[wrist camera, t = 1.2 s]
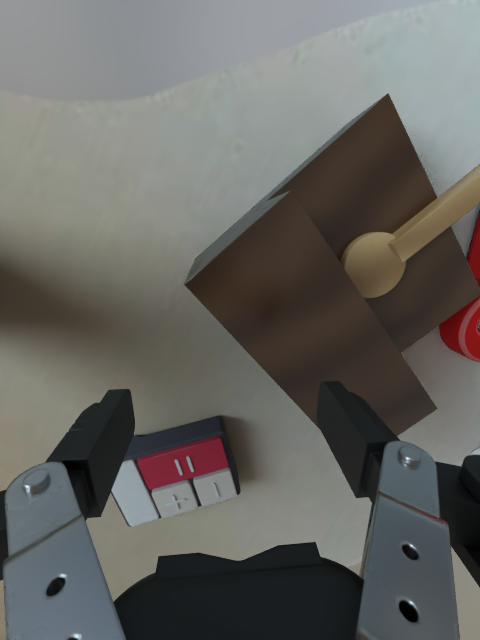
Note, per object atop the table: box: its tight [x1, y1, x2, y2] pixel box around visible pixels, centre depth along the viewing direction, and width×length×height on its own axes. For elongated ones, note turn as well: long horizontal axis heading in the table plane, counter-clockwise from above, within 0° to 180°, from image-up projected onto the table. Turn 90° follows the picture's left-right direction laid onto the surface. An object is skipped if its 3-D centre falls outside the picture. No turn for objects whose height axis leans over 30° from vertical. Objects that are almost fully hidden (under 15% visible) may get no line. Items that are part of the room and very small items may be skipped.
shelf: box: [184, 94, 480, 436], centre depth 24 cm, size 20×20×13 cm
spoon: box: [340, 164, 480, 298], centre depth 22 cm, size 6×16×2 cm, turn 130°
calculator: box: [111, 416, 240, 527], centre depth 34 cm, size 11×4×15 cm
